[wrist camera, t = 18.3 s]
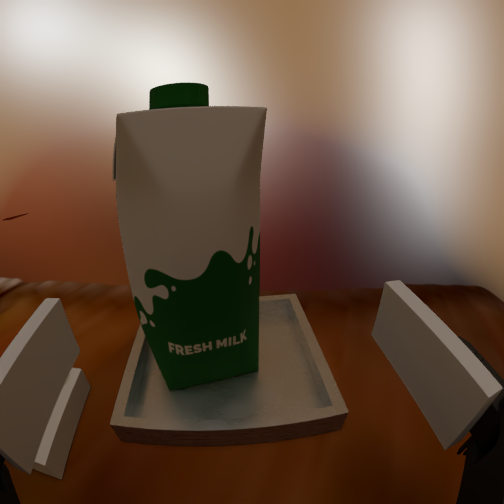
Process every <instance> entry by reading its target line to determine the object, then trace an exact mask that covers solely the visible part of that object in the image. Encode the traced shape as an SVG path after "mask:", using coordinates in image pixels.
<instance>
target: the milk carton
mask: <svg viewBox="0 0 504 504" xmlns="http://www.w3.org/2000/svg"><path fill="white" fill-rule="evenodd" d="M208 98H209V95H208V86H206V85H204V84H199V83H174V84H167V85H162V86H158V87H155V88H153V89H151V90H150V109H149V110H143V111H135V112H127V113H120V114H117V118H116V138H115V144H114V145H115V146H114V153H113V181H114V180H115V179H116V198H117V210H118V219H119V226H120V233H121V239H122V245H123V251H124V256H125V261H126V266H127V271H128V276H129V281H130V285H131V290H132V294H133V298H134V303H135V306H136V310H137V313H138V317H139V320H140V323H141V326H142V329H143V332H144V334H145V337H146V339H147V341H148V344H149V346H150V348H151V351H152V353H153V355H154V358H155V360H156V362H157V365H158V367H159V369H160V371H161V373H162V376H163V378H164V380H165V382H166V384H167V386H168V389H169V390H175V389H180V388H185V387H190V386H195V385H200V384H204V383H209V382H213V381H217V380H222V379H226V378H230V377H234V376H238V375H241V374H245V373H249V372H253V371H256V370H259V293H260V289H259V288H260V171H261V159H262V149H263V139H264V129H265V120H266V111H267V108H264V107H238V106H214V107H213V106H212V107H211V106H209V99H208Z"/></svg>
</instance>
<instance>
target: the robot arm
mask: <svg viewBox="0 0 504 504" xmlns="http://www.w3.org/2000/svg"><path fill="white" fill-rule="evenodd" d="M372 337H373V338H374V340H375V341H376V342H377V344H378V345H379V347H380V348H381V350H382V351H383V353H384V354H385V356H386V357H387V359H388V360H389V362H390V363H391V365H392V366H393V368H394V369H395V371H396V372H397V374H398V375H399V377H400V378H401V380H402V381H403V383H404V384H405V386H406V387H407V389H408V391H409V392H410V394H411V395H412V397H413V398H414V400H415V402H416V403H417V405H418V406H419V408H420V410H421V411H422V413H423V414H424V416H425V418H426V419H427V421H428V423H429V424H430V426H431V428H432V429H433V431H434V433H435V434H436V436H437V438H438V439H439V441H440V443H441V444H442V446H443V448H444V450H446V449H448V448H449V447H451V446H453V445H455V444H456V443H458V442H460V441H461V440H462V439H463V437H464V436H465V435H466V434H467V433H468V432H469V431H470V433H471V434H472V436H471V437H470V438H469V439H468V440H467V441H466V442H465V443H464V444H463V445H462V446H461V447H460V448H459V450H458V453H457V454H460V453H461V452H462V451H463V450H464V449H465V448H466V447H467V450H466V451H465V452H464V453H463V455H466V460H465V466H464V471H463V476H462V481H461V486H460V490H459V494H458V498H457V502H456V504H504V380H503V379H502V378H501V377H500V375H499V374H498V373H497V372H496V371H495V370H494V369H493V367H492V366H491V365H490V364H489V363H488V362H487V361H486V360H484V357H483V356H482V355H481V354H480V353H479V354H478V351H477V350H476V349H475V348H474V347H473V346H472V344H471V343H469V342H468V341H466V340H465V339H463V338H461V337H460V336H458V337H457V336H456V335H455V334H454V333H453V332H452V331H451V330H450V329H449V328H448V326H447V325H446V324H445V323H444V322H443V321H442V320H441V319H440V318H439V317H438V316H437V315H436V314H435V313H434V312H433V311H432V310H430V309H429V308H428V307H427V306H426V305H425V304H424V303H423V302H422V301H421V300H420V299H419V298H418V297H417V296H416V295H415V294H414V293H413V292H412V291H411V290H410V289H408V288H407V287H406V286H405V285H404V284H403V283H402V282H401V281H400V280H398V281H390V282H385V285H384V289H383V293H382V298H381V302H380V306H379V310H378V313H377V317H376V321H375V325H374V328H373V332H372ZM79 352H80V349H79V347H78V344H77V342H76V340H75V337H74V335H73V333H72V330H71V328H70V325H69V323H68V320H67V317H66V315H65V312H64V309H63V306H62V304H61V301H60V299H59V298H46V299H45V300H44V301H43V303H42V304H41V305H40V306H39V307H38V309H37V310H36V311H35V312H34V314H33V315H32V316H31V317H30V319H29V320H28V321H27V322H26V324H25V325H24V326H23V328H22V329H21V330H20V332H19V333H18V334H17V336H16V337H15V338H14V340H13V341H12V342H11V344H10V345H9V347H8V348H7V349H6V351H5V352H4V354H3V355H2V357H1V358H0V504H20V501H19V499H18V496H17V494H16V491H15V488H14V485H13V482H12V479H11V476H10V473H9V470H8V468H7V466H6V465H5V464H4V461H5V459H6V460H7V461H8V462H9V463H10V464H11V465H13V466H14V467H15V468H17V469H19V470H21V471H23V472H26V473H28V474H30V475H31V471H32V468H33V465H34V462H35V458H36V455H37V452H38V449H39V446H40V444H41V441H42V438H43V435H44V432H45V430H46V427H47V424H48V422H49V419H50V417H51V414H52V412H53V409H54V407H55V405H56V402H57V400H58V397H59V395H60V393H61V391H62V388H63V386H64V384H65V382H66V379H67V377H68V375H69V373H70V371H71V369H72V367H73V365H74V362H75V360H76V358H77V356H78V354H79Z"/></svg>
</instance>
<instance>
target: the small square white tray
mask: <svg viewBox="0 0 504 504" xmlns="http://www.w3.org/2000/svg"><path fill="white" fill-rule="evenodd" d="M90 388H91V386H90V384H89V383H88V381H87V379H86V377H85V375H84V373H83V371H82V369H77V368H72V369H71V371H70V373H69V375H68V377H67V379H66V382H65V384H64V386H63V388H62V391H61V393H60V395H59V397H58V400H57V402H56V405H55V407H54V409H53V412H52V414H51V417H50V419H49V422H48V424H47V427H46V430H45V432H44V435H43V438H42V441H41V444H40V446H39V449H38V452H37V455H36V458H35V462H34V465H33V468H32V469H35V470H37V471H40V472H42V473H45V474H48V475H50V476H53V477H56V478H59V479H62V477H63V473H64V469H65V465H66V461H67V458H68V454H69V451H70V447H71V444H72V441H73V437H74V434H75V431H76V428H77V425H78V422H79V419H80V416H81V413H82V410H83V407H84V404H85V401H86V399H87V396H88V393H89V391H90Z"/></svg>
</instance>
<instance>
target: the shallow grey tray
mask: <svg viewBox="0 0 504 504" xmlns="http://www.w3.org/2000/svg"><path fill="white" fill-rule="evenodd" d="M348 413H349V412H348V410H347V407H346V405H345V403H344V401H343V398H342V396H341V394H340V391H339V389H338V387H337V385H336V382H335V380H334V378H333V375H332V373H331V371H330V369H329V366H328V364H327V362H326V360H325V358H324V355H323V353H322V351H321V349H320V346H319V344H318V342H317V340H316V338H315V335H314V333H313V331H312V329H311V327H310V324H309V322H308V320H307V318H306V316H305V313H304V311H303V309H302V307H301V305H300V303H299V300H298V298H297V296H296V294H288V295H275V296H260V297H259V370H256V371H253V372H249V373H245V374H241V375H238V376H234V377H230V378H226V379H222V380H217V381H213V382H209V383H204V384H200V385H195V386H190V387H185V388H180V389H175V390H169V389H168V386H167V384H166V382H165V380H164V378H163V376H162V373H161V371H160V369H159V367H158V365H157V362H156V360H155V358H154V355H153V353H152V351H151V348H150V346H149V344H148V341H147V339H146V337H145V334H144V332H143V329H142V326H141V324H140V327H139V330H138V332H137V335H136V338H135V341H134V344H133V347H132V350H131V353H130V356H129V360H128V363H127V366H126V369H125V372H124V376H123V379H122V382H121V386H120V389H119V393H118V396H117V400H116V403H115V407H114V411H113V414H112V418H111V422H110V426H111V427H112V428H113V430H114V431H115V433H116V434H117V436H118V437H119V438H120V440H121V441H128V442H137V443H147V444H159V445H178V446H221V445H240V444H253V443H263V442H272V441H280V440H287V439H294V438H300V437H306V436H311V435H316V434H321V433H326V432H331V431H335V430H339V429H341V428H342V426H343V424H344V422H345V420H346V417H347V415H348Z"/></svg>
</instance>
